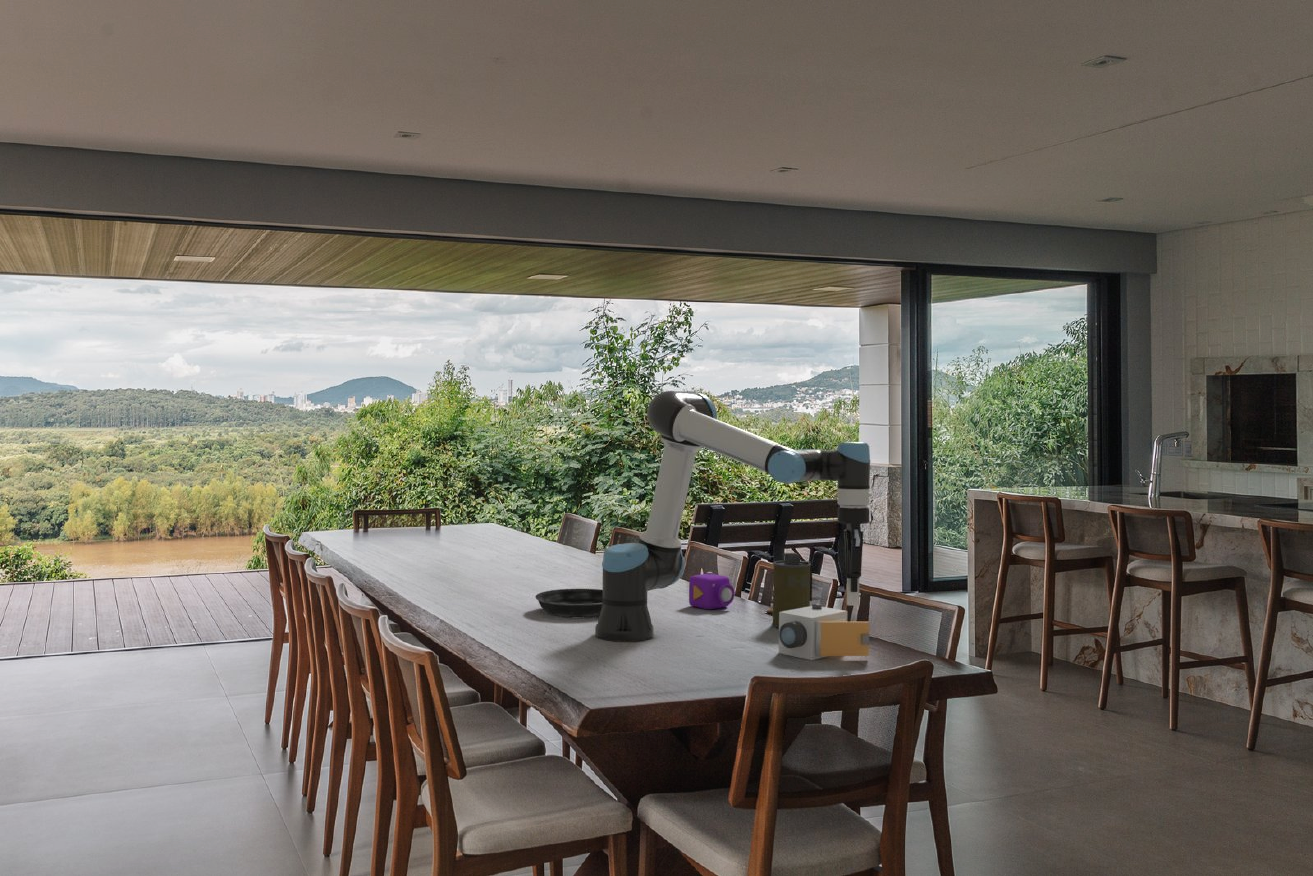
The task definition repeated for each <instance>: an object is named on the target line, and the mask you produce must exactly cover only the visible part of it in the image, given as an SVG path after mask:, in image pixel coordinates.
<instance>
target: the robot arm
mask: <svg viewBox="0 0 1313 876" xmlns="http://www.w3.org/2000/svg"><path fill="white" fill-rule="evenodd" d="M646 413H647V414H646V416H647V417H646V418H647V421H648V424H649V426H650V427H651V429H652V430H653V431H654V432H656V433H657V434H658V435H660V439H661V441H662V442H663V444H664V447H663V450H662V451H663V452H662V455H661V462H660V465H659V471H658V474H657V480H656V484H655V489H654V492H653V493H654V494H653V498H652V504H651V508H650V511H649V516H648V522H647V525H646V530H645V531H644V532H642V533H641V534H639V537H638V541H637V542H625V543H619V544H618V543H617V544H614V545H611V546H608V547H607V548H606V549H605V550H604V551H603V555H602V556H603V557H602V562H601V566H602V590H603V594H602V609H601V612H600V616H598V620H597V624H596V625H595V627H594V634H595V637H596V636H597V637H599V638H598V639H600V638H602V639H601V640H604V639H605V641H610V640H611V642H639V641H646V640H650V639H652V638H654V628H655V627H654V625H653V624H652V618H651V615H650V612H649V607H648V591H654V590H659V589H664V588H667V587H669V586H672V585H674V584H675V583H677V582H678V581H679V580H680V579H681V577H682V576H683V575H684V571H685V565H686V562H685V557H684V556H683V552H682V545H683V544H682V542H681V540H680V539H679V532H680V528H681V523H682V518H683V514H684V509H685V505H686V500H687V496H688V492H689V486H690V483H691V479H692V478H691V477H692V474H693V473H692V472H693V468H694V463H695V459H696V454H697V452H698V451H700V450H701V449H702V448H705V449H707V450H710V451H712V452H714V453H717V454H718V455H721V456H724V457H727V458H730V459H732V460H733V461H734V460H735V461H737V462H739V463H741V464H743V465H746V466H748V467H751V468H754V469H756V470H759V471H760V472H763V473H766V474H767V475H770V477H772V479H773V480H774V481H775V482H778V483H781V484H794V483H800V482H811V481H812V482H814V481H824V482H825V481H829V482H837V505H838V506H839V507H838V508H837V522H838V523H840V524H843V525H845V524H846V528H845V529H844V530H843V539H844V559H845V560H844V564H845V565H844V566H845V567H844V568H845V570H844V572H845V573H846V574H845V579H846V605H847V606H855V607H856V606H857V607H858V606H860V577H862V567H863V566H862V561H863V546H864V542H865V541H864V531H862V530H861V529H862V528H861V525H863V524H865V525H866V524H868V523H870V511H871V510H870V507H868V506H869V505H870V497H872V496H873V493H872V492H870V487H871V486H870V482H871V481H870V479H871V455H870V454H871V453H870V445H869V444H868V443H867V442H865V441H841V442H838V443H837V444H838V445H837V449H832V450H831V449H811V448H804V449H803V448H802V449H793V448H789V447H787V446H785V445H782V444H780V443H778V442H774V441H773V440H769V439H767V438H764V437H762V436H759V435H757V434H754V433H752V432H749V431H746V430H744V429H742V428H739V427H737V426H734V425H732V424H730V423H726V422H724V421H721V420H719V419H718V411H717V409H716V406H715V404H714V403H713V400H711V399H710V397H708V396H707V395H706V394H703V393H700V392H696V391H691V390H690V391H689V390H688V391H684V390H683V391H677V390H665V391H663V392H660V393H658V394H656V395H655V396H654V397H653V398H652V399H651V401H650V402H649V403H648V407H647V412H646ZM597 637H596V638H597Z"/></svg>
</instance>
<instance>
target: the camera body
mask: <svg viewBox="0 0 1313 876" xmlns="http://www.w3.org/2000/svg"><path fill="white" fill-rule="evenodd" d="M818 621H819V622H848V610H842V609H837V608H831V607H826V606H823V604H822V603H812V604H811V605H810V606H809V607H803V608H798V609H793V610H787V611H782V612H779V628H778V654H782V655H785V656H791V657H795V658H798V659H799V658H800V659H804V660H809V661H814V660H818V659H823V658H826V657H828V656H816V622H818Z"/></svg>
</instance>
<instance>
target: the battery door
mask: <svg viewBox="0 0 1313 876" xmlns="http://www.w3.org/2000/svg"><path fill="white" fill-rule="evenodd" d="M869 646H870V622H869V621H847V622H819V621H818V622H816V656H827V657H869V650H870V647H869Z"/></svg>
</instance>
